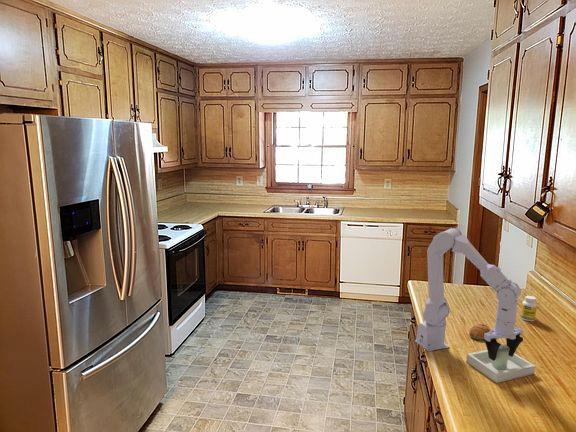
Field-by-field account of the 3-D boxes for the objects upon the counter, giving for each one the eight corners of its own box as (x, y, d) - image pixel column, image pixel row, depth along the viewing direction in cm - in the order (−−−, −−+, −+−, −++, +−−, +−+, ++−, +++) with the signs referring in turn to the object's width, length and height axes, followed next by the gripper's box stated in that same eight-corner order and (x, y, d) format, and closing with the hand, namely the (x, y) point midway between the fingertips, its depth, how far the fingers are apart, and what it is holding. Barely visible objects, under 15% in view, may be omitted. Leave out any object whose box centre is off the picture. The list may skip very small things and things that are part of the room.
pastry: (482, 343, 156) (483, 333, 155) (464, 336, 161) (465, 327, 160) (492, 335, 163) (492, 326, 162) (474, 329, 167) (475, 320, 167)
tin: (498, 370, 137) (501, 351, 135) (488, 363, 141) (490, 344, 140) (510, 369, 138) (512, 349, 136) (499, 361, 142) (502, 342, 141)
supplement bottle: (521, 320, 176) (524, 298, 174) (519, 315, 181) (522, 294, 179) (535, 322, 174) (539, 300, 172) (533, 317, 179) (536, 296, 177)
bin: (496, 382, 131) (497, 374, 130) (466, 361, 143) (467, 353, 142) (534, 374, 136) (535, 365, 135) (502, 354, 148) (503, 346, 147)
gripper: (497, 327, 130) (493, 367, 133) (532, 321, 135) (527, 359, 137) (480, 318, 136) (476, 356, 139) (514, 312, 141) (510, 349, 144)
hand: (500, 357), depth 139 cm, fingers open, 7 cm apart
